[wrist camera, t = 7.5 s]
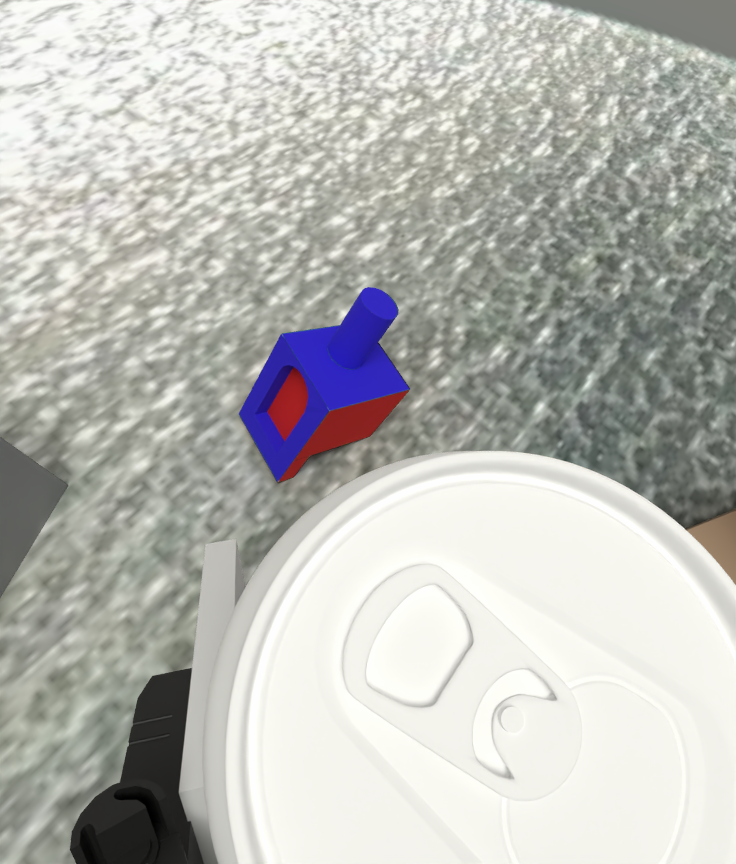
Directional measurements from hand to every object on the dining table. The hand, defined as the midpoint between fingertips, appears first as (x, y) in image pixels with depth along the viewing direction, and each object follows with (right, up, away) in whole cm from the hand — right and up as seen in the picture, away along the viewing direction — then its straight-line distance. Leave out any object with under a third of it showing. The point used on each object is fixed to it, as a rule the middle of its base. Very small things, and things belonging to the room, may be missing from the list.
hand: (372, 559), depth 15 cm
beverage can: (+1, -5, +3) cm, 5 cm away
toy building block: (-2, +4, +10) cm, 11 cm away
